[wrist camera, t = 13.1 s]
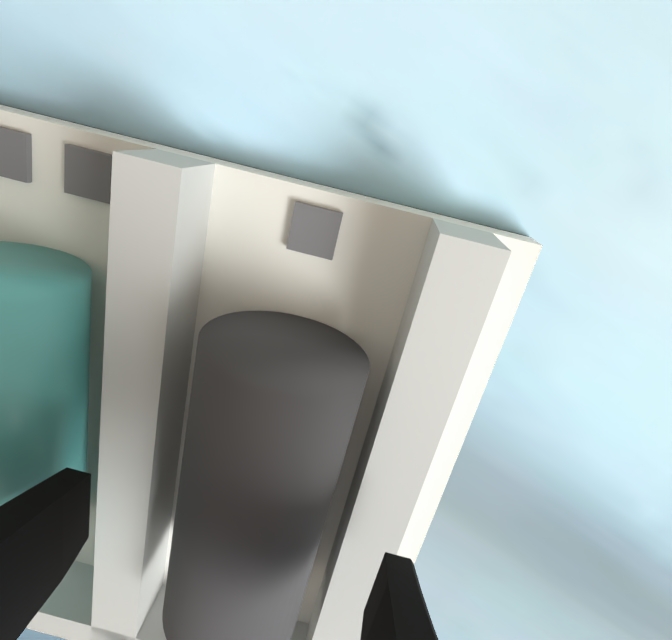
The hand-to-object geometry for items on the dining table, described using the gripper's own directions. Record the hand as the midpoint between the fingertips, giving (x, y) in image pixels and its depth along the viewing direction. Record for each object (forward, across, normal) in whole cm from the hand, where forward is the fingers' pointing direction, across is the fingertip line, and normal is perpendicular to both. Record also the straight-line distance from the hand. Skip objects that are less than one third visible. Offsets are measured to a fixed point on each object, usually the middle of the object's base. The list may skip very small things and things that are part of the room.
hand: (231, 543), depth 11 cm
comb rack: (+5, +4, 0) cm, 6 cm away
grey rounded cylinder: (+4, 0, 0) cm, 4 cm away
